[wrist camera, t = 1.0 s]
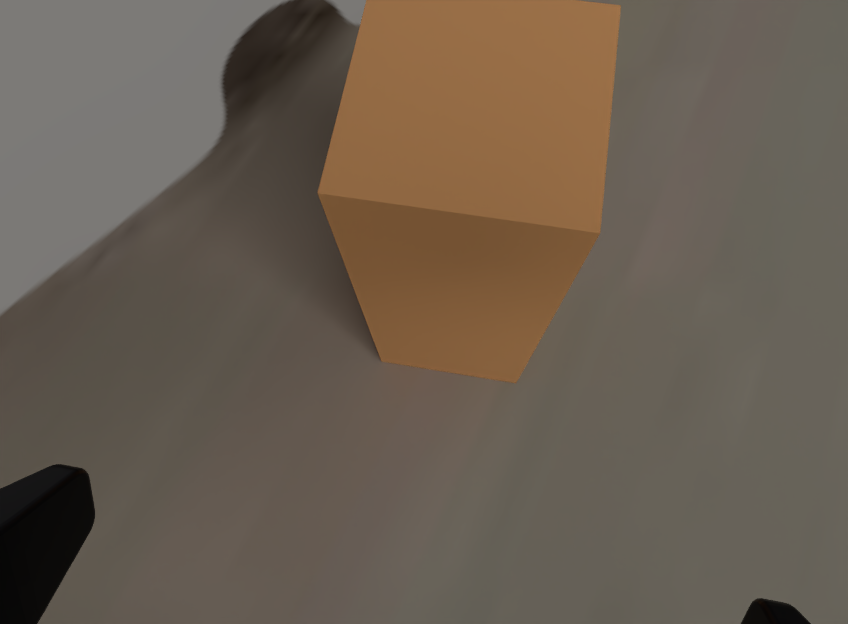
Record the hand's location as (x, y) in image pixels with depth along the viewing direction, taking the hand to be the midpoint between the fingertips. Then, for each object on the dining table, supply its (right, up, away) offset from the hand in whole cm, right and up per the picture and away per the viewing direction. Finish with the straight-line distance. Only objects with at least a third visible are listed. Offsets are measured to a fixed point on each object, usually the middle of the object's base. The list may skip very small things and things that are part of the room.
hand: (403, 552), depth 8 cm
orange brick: (+2, +3, +15) cm, 16 cm away
